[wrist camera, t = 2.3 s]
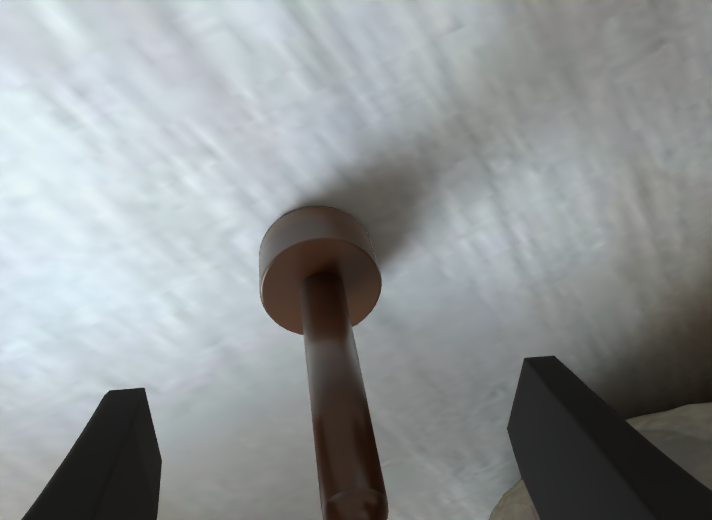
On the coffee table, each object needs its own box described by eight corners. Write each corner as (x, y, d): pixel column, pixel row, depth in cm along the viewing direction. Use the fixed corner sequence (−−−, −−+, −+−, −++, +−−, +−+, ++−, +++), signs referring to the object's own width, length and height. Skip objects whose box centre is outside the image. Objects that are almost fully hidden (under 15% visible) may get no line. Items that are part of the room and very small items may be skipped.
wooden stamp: (369, 295, 17) (442, 579, 11) (262, 302, 17) (268, 601, 10) (374, 202, 16) (464, 470, 9) (255, 207, 15) (256, 491, 9)
